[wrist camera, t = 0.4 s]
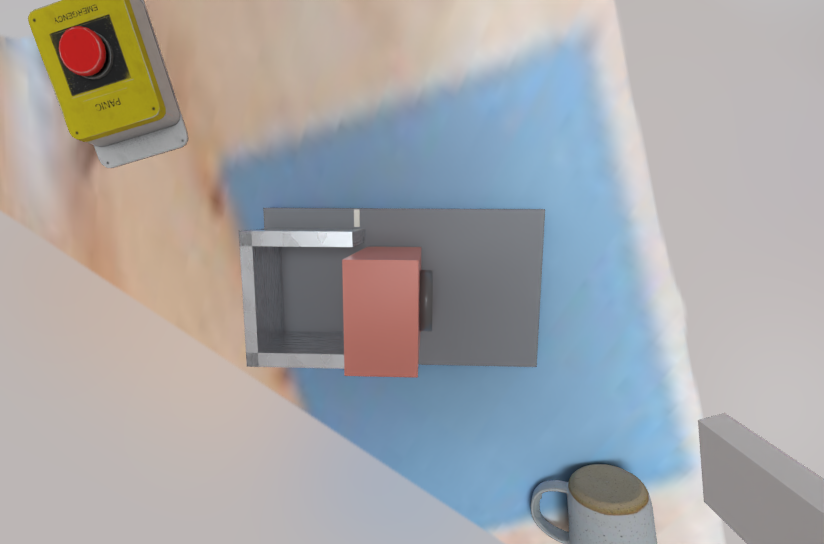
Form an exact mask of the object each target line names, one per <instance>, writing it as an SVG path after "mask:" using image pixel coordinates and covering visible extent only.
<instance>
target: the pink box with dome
mask: <svg viewBox="0 0 824 544" xmlns="http://www.w3.org/2000/svg"><path fill="white" fill-rule="evenodd" d="M342 273H343V322H344V371H345V376H377V377H418V363H419V348H420V332H421V331H432V307H433V270H421V247H366V248H364V249H362V250H360V251H358V252H356V253H354V254H352V255H350V256H348V257H346V258H344V259H343V260H342Z"/></svg>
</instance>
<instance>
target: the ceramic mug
mask: <svg viewBox="0 0 824 544" xmlns="http://www.w3.org/2000/svg"><path fill="white" fill-rule="evenodd" d="M548 491H558V492H564V493H567V502H568V512H569V532H567V531H564V530H562V529H559V528H557V527H555V526H553V525H552V524H550V523H549V522H548V521H547V520H545V519H544V517H543V516H542V515H541V513H540V511H539V510H540V506H539V502H540V499H541V498H542V493H544V492H548ZM531 513H532V517H533V519H534V521H535V523H536V524H537V526H538V527H539V528H540V529H541V530H542V531H543V532H544V533H546V534H547V535H548V536H550V537H551V538H553V539H555V540H556V541H558V542H561V543H563V544H657V539H656V532H655V525H654V516H653V508H652V503H651V500H650V496H649V493H648V491H647V489H646V487H645V485H644V484H643V483H642V482H641V481H640V480H639V479H638V478H637V477H636V476H634V475H633V474H631V473H630V472H628V471H626V470H624V469H621V468H619V467H616V466H612V465H606V464H592V465H588V466H584V467H582V468H579V469H578V470H576V471H575V472H574V473H573V474H572V475H571V477H570V479H569V482H564V481H560V480H552V481H551V480H549V481H544V482H542V483H540V484H539V485H538V486H537V487H536V488H535V490H534V492H533V496H532V500H531Z"/></svg>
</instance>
